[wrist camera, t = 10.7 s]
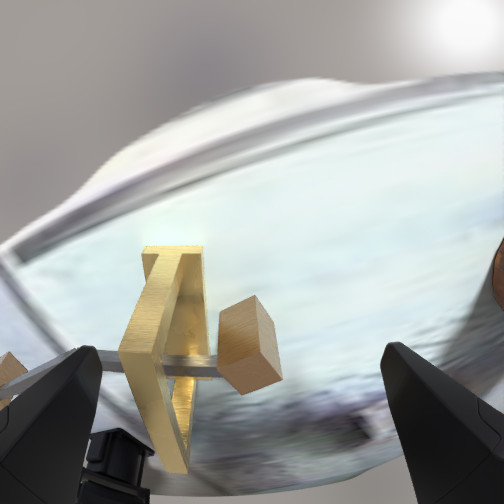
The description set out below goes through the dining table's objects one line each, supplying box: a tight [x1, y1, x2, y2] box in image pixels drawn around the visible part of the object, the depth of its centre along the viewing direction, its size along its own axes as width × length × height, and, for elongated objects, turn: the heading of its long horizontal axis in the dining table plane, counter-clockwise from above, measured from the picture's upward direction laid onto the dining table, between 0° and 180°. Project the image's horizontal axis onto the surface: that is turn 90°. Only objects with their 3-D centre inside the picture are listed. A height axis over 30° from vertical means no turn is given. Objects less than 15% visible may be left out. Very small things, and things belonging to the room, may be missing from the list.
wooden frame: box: [118, 246, 212, 474], centre depth 20 cm, size 12×4×10 cm, turn 179°
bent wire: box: [0, 295, 283, 410], centre depth 23 cm, size 9×30×6 cm, turn 119°
